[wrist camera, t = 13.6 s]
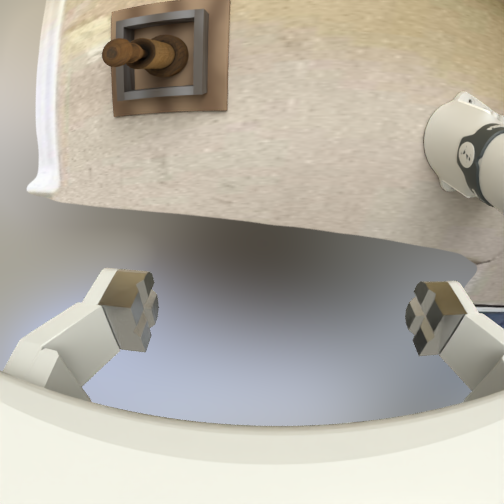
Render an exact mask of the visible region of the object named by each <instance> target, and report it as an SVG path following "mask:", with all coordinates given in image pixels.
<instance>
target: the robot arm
mask: <svg viewBox="0 0 504 504" xmlns="http://www.w3.org/2000/svg"><path fill="white" fill-rule="evenodd" d="M469 99H470V103H469ZM424 149H425V154H426V157H427V160H428V162H429V164H430V166H431V167H432V169H433V170H434V171H435V172H436V174H437V175H438V177H439V181H440V185H441V187H442V189H444V190H445V191H458V192H460V193H461V194H462V195H464V196H465V197H467V198H471V197H478V198H479V199H480V200H481V201H482V202H484V203H486V204H488V205H489V206H492V207H495V208H496V209H497V210H498V211H499V212H501V213H502V214H503V215H504V116H502V115H498V114H497V113H495V112H494V111H493V110H491V109H490V108H489V107H487V106H486V105H485V104H483V103H482V102H481V101H479V100H478V99H476V98H475V97H473V96H472V95H471V94H469V93H467V92H465V91H461V92H460V93H459V94H458V95H457V96H456V97H455V98H454V100H452V101H451V102H449V103H446V104H444V105H442V106H441V107H439V108H438V109H437V110H436V111H435V112H434V113H433V115H432V116H431V118H430V120H429V122H428V124H427V127H426V130H425V136H424ZM153 284H154V280H153V276H152V273H150V272H147V271H136V270H125V269H112V268H105V269H103V270H102V271H101V273H100V274H99V276H98V277H97V279H96V280H95V282H94V284H93V285H92V287H91V289H90V290H89V292H88V293H87V295H86V297H85V298H84V300H83V302H82V303H76V304H75V305H73V306H71V307H70V308H68V309H67V310H65V311H63V312H62V313H60V314H59V315H57V316H56V317H54V318H53V319H51V320H49V321H48V322H46V323H45V324H43V325H42V326H40V327H39V328H37V329H35V330H34V331H32V332H31V333H29V334H28V335H26V336H25V337H23V338H22V339H20V341H19V343H18V344H17V346H16V348H15V350H14V351H13V353H12V355H11V357H10V358H9V361H8V362H7V364H6V366H5V368H4V370H3V371H0V504H504V329H503V328H501V327H500V326H499V325H497V324H496V323H495V322H493V321H492V320H491V319H489V318H488V317H487V316H485V315H484V314H483V313H479V312H478V311H477V309H476V307H475V306H474V304H473V303H472V301H471V299H470V298H469V296H468V295H467V293H466V292H465V290H464V289H463V287H462V286H461V284H460V283H459V282H457V281H444V282H420V283H418V284H417V286H416V288H415V290H414V293H415V298H413V299H412V300H411V301H410V302H409V304H408V306H407V309H406V315H405V319H406V325H407V327H408V330H409V331H411V332H412V333H413V334H414V338H413V342H414V345H415V347H416V350H417V352H418V355H419V356H427V355H436V354H440V355H439V356H440V357H441V358H442V359H443V360H444V361H445V362H446V363H447V364H448V365H449V366H450V367H451V369H453V371H454V372H455V373H456V374H457V375H458V376H459V377H460V378H461V379H462V380H463V382H464V383H465V384H466V385H467V386H468V387H469V388H470V389H471V390H472V392H471V393H470V394H469V395H468V396H467V397H466V398H465V400H464V402H463V403H459V404H456V405H452V406H448V407H444V408H440V409H435V410H430V411H426V412H421V413H415V414H410V415H405V416H399V417H392V418H386V419H379V420H371V421H362V422H353V423H342V424H329V425H310V426H250V425H231V424H216V423H206V422H196V421H187V420H180V419H173V418H166V417H160V416H153V415H148V414H142V413H137V412H132V411H127V410H122V409H118V408H113V407H109V406H104V405H101V404H97V403H93V402H91V400H90V398H89V397H88V395H87V394H86V392H85V391H84V390H83V388H82V386H83V385H84V384H85V383H86V382H87V381H89V379H91V377H93V376H94V375H95V374H96V373H97V372H98V371H99V370H100V369H101V368H102V367H103V366H104V365H105V364H106V363H108V361H110V360H111V359H112V358H113V357H114V356H115V355H116V354H117V353H118V352H119V351H120V349H122V350H131V351H139V352H146V350H147V347H148V344H149V341H150V338H151V332H150V329H149V328H151V327H152V326H153V325H155V323H156V320H157V317H158V308H159V307H158V298H157V294H156V293H155V292H154V291H153V290H152V287H153Z"/></svg>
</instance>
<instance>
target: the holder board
mask: <svg viewBox="0 0 504 504" xmlns="http://www.w3.org/2000/svg"><path fill="white" fill-rule="evenodd" d="M229 20H230V0H175V1H167V2H160V3H154V4H148V5H142V6H137V7H132V8H127V9H123V10H118V11H114V12H112V19H111V40H114V39H117V38H123V39H126V40H128V41H129V42H131V41H133V40H135V39H138V38H147V39H152V38H154V37H156V36H159V35H172V36H175V37H178V38H180V39H181V40H182V41H183V42H184V43H185V44H186V46H187V48H188V53H189V57H188V62H187V64H186V66H185V67H184V68H183V69H182V70H181V71H180V72H179V73H177V74H176V75H173V76H170V77H157V76H153V75H151V74H149V73H148V72H147V71H146V70H145V69H132V68H130V67H129V66H127V65H126V64H124V65H122V66H119V67H111V77H112V98H113V113H114V117H117V116H126V115H136V114H147V113H160V112H177V111H212V110H227V97H228V52H229Z"/></svg>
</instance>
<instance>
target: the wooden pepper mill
mask: <svg viewBox="0 0 504 504" xmlns="http://www.w3.org/2000/svg"><path fill="white" fill-rule="evenodd" d="M188 57H189V53H188V48H187V46H186V44H185V43H184V42H183V41H182V40H181V39H180V38H178V37H175V36H172V35H159V36H156V37H154V38H152V39H147V38H138V39H135V40H133V41H131V42H129V41H128V40H126V39H123V38H117V39H114V40H111V41H110V42H108V43H107V44H106V46H105V47H104V49H103V52H102V58H103V60H104V62H105V63H106V64H107V65H109V66H111V67H119V66H122V65H124V64H126V65H127V66H129V67H130V68H132V69H145V70H146V71H147V72H148V73H149V74H151V75H153V76H157V77H170V76H173V75H176V74H177V73H179V72H180V71H181V70H182V69H183V68H184V67H185V66H186V64H187V62H188Z"/></svg>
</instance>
